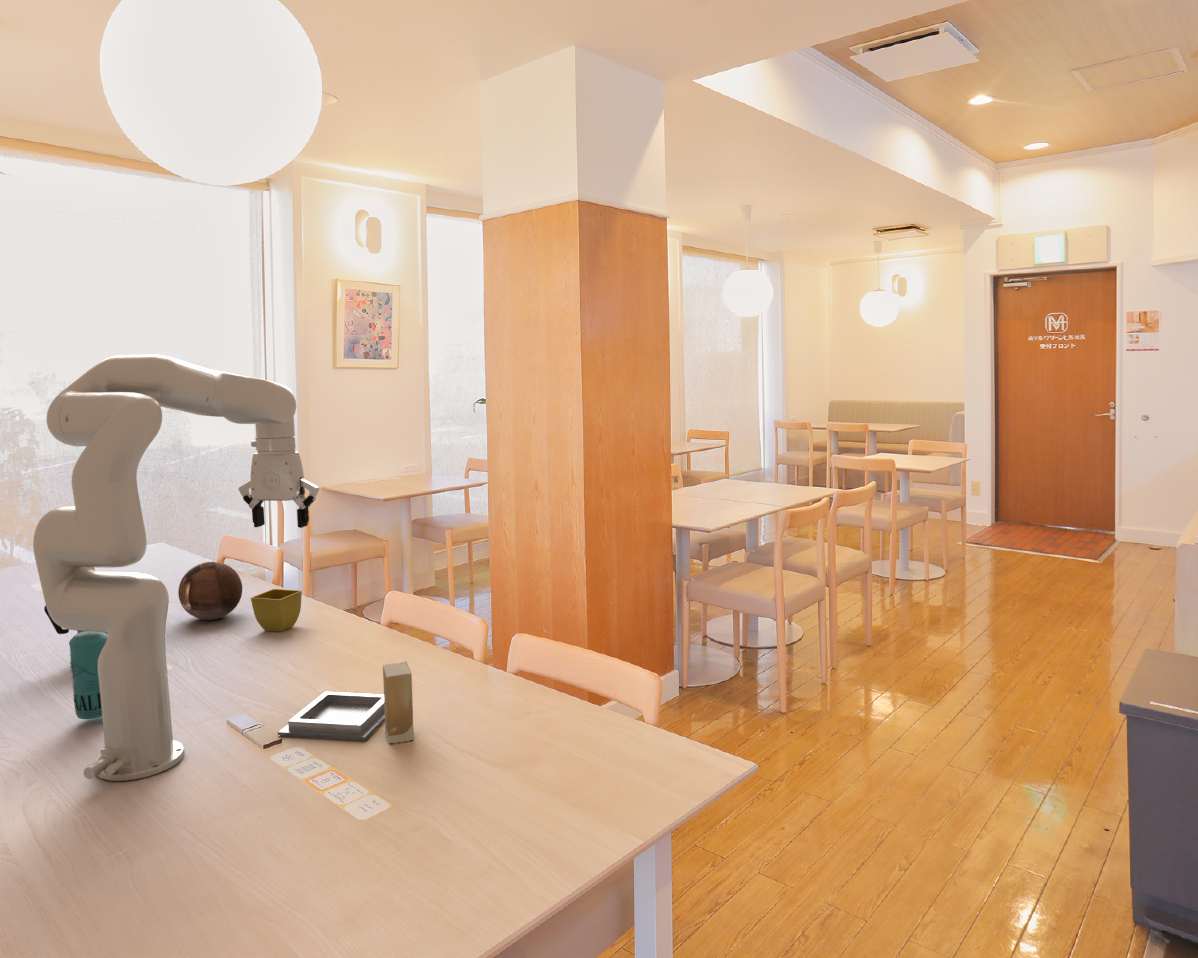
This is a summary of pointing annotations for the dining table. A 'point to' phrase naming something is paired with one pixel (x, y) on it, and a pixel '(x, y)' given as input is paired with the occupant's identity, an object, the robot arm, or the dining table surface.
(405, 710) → the skincare box
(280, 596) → the flower pot
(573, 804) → the dining table surface
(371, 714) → the square metal tray
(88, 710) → the beverage bottle
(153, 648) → the robot arm
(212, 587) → the wooden sphere
